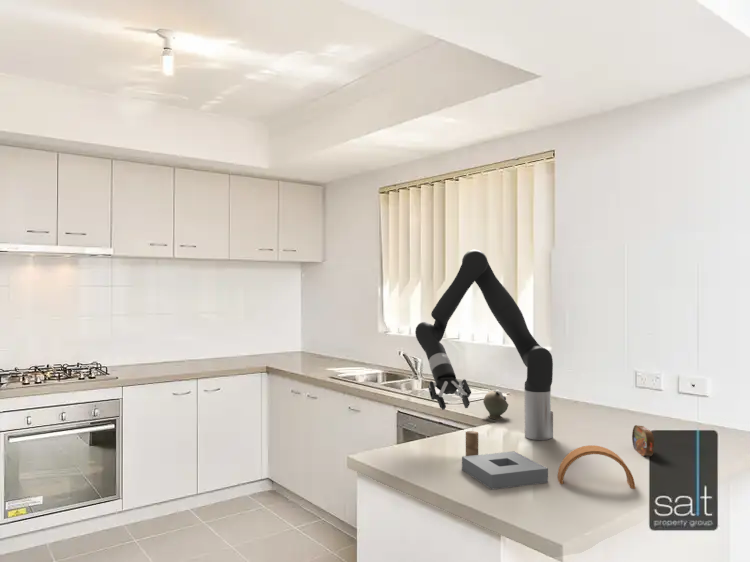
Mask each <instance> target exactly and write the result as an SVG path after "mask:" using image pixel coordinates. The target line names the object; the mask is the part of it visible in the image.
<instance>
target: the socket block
mask: <svg viewBox="0 0 750 562" xmlns="http://www.w3.org/2000/svg"><path fill="white" fill-rule="evenodd" d="M461 470H462V471H463V472H465V473H466V474H468V475H469V476H471V477H472V478H474V479H475V480H477V481H478V482H479V483H481V484H482V485H484V486H485V487H487V488H489V489H490V490H499V489H507V488H513V487H515V488H516V487H522V486H529V485H531V486H532V485H537V484H538V485H539V484H545V483H549V468H548V467H546V466H544V465H543V464H540V463H538V462H536V461H534V460H532V459H530V458H528V457H527V456H524V455H523V454H520V453H518V452H516V451H515V450H512V451H502V452H501V451H500V452H493V453H485V454H483V453H482V454H481V453H480V454H478V455H472V456H466V455H463V456H461Z"/></svg>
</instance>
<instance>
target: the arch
mask: <svg viewBox="0 0 750 562" xmlns="http://www.w3.org/2000/svg"><path fill="white" fill-rule="evenodd" d="M590 455H600V456H605V457H608V458H610V459H612V460H614V461H615V462H616V463H618V464H619V465H620V466H621V467H622V468H623V470H624V472H625V475H626V482H627V484H628V486H629V488H630V489H636V484H635V479H634V476H633V474H632V472H631V469H629V467H628V466H627V465H626V463H625V462H624V460H623V459H622V458H621V457H620V456H619V454H617V453H616V452H614V451H613V450H611V449H609V448H606V447H603V446H600V445H595V444H594V445H593V444H592V445H583V446H579V447H577V448H575V449H573V450H571V451H570V452H569V453H568V454H566V455H565V457H564V458H563V459H562V461H561V463H560V464H559V467H558V471H557V481H558V484H559V485H563V484H564V478H565V475H566V472H567V470H568V469H569V468H570V466H571V465H572V464H573V463H574V462H575V461H577V460H578V459H580V458H582V457H585V456H590Z"/></svg>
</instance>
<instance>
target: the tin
mask: <svg viewBox="0 0 750 562" xmlns="http://www.w3.org/2000/svg"><path fill="white" fill-rule="evenodd" d="M631 434H632V435H631V438H632V439H631V440H632V447H633V449H634V450H635V451H636V452H637V454H639V455H640V456H641V457H652V456H653V454H654V450H655V436H654V433H653V432H652V431H651V430H649V429H648V428H647V427H646V426H644V425H637V424H635V425H634V426H633V428H632V432H631Z"/></svg>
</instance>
